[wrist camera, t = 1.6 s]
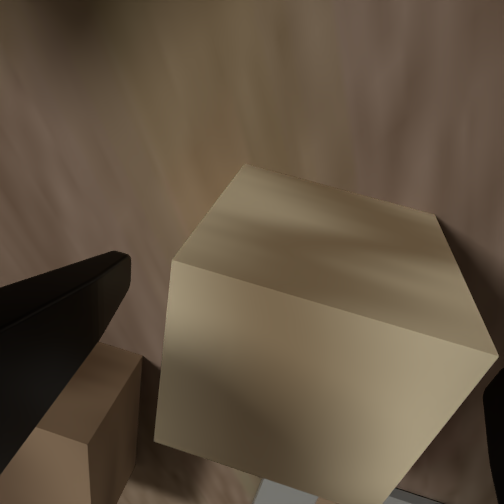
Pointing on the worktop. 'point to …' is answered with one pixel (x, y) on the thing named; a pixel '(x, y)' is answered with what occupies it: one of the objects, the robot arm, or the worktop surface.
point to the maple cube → (316, 337)
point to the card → (292, 500)
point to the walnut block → (82, 437)
